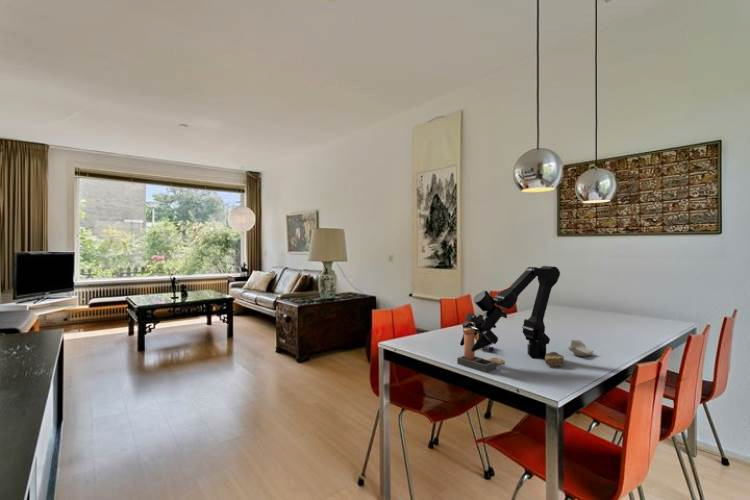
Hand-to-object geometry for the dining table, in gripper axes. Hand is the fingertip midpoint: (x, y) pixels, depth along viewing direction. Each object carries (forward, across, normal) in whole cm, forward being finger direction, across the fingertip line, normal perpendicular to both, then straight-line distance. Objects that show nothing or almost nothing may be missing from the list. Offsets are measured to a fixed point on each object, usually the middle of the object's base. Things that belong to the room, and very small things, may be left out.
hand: (466, 347), depth 146 cm
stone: (-19, +8, +29) cm, 36 cm away
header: (+3, +3, +7) cm, 8 cm away
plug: (+4, 0, +6) cm, 7 cm away
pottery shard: (-33, +3, +42) cm, 54 cm away
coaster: (-4, 0, +14) cm, 14 cm away
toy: (-8, -18, +18) cm, 27 cm away
